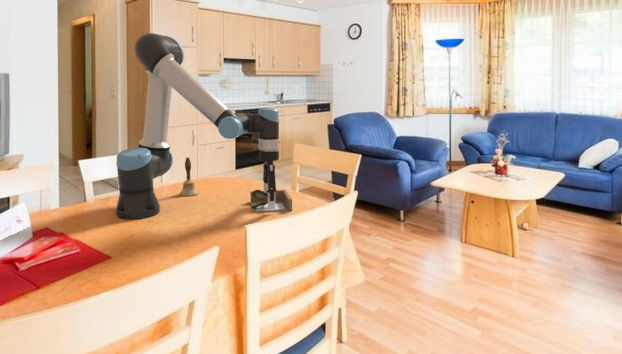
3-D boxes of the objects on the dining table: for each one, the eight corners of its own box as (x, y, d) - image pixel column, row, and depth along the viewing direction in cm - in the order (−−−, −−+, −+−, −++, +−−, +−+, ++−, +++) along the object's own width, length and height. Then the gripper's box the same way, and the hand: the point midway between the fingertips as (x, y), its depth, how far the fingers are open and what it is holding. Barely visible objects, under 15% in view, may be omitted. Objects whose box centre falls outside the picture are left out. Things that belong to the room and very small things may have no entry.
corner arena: (254, 212, 163) (253, 201, 162) (250, 201, 177) (250, 191, 176) (292, 210, 166) (292, 199, 165) (285, 200, 180) (285, 189, 179)
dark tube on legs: (273, 200, 174) (251, 196, 172) (276, 188, 169) (253, 184, 167) (272, 214, 168) (249, 211, 167) (276, 202, 164) (252, 199, 162)
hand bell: (178, 192, 190) (176, 156, 187) (197, 190, 194) (195, 155, 190) (181, 197, 183) (178, 160, 180) (200, 195, 186) (199, 158, 183)
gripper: (283, 155, 153) (283, 212, 157) (274, 144, 177) (274, 195, 181) (262, 155, 151) (263, 213, 156) (255, 145, 175) (256, 195, 180)
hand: (269, 203), depth 169 cm, fingers open, 13 cm apart
